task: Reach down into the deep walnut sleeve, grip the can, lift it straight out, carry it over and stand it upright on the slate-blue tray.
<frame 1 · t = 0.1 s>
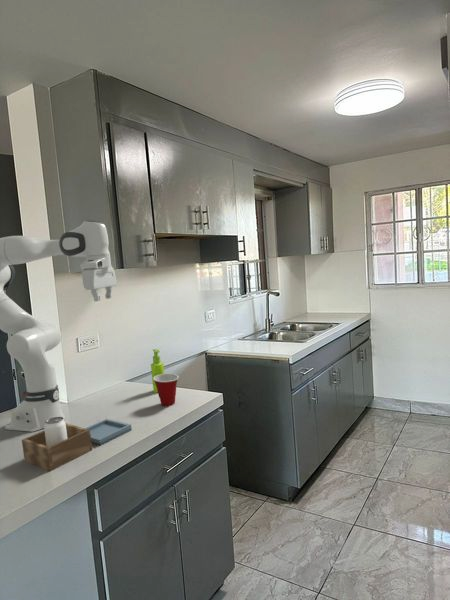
hand: (103, 299, 155), 48 cm above the countertop, tool pointing down, fingers open, 8 cm apart
soap dispenser: (160, 391, 194), on the countertop
plastic cup: (168, 404, 175), on the countertop
can: (58, 455, 134), resting in walnut sleeve
walnut sleeve: (58, 455, 134), on the countertop
tray: (103, 434, 148), on the countertop
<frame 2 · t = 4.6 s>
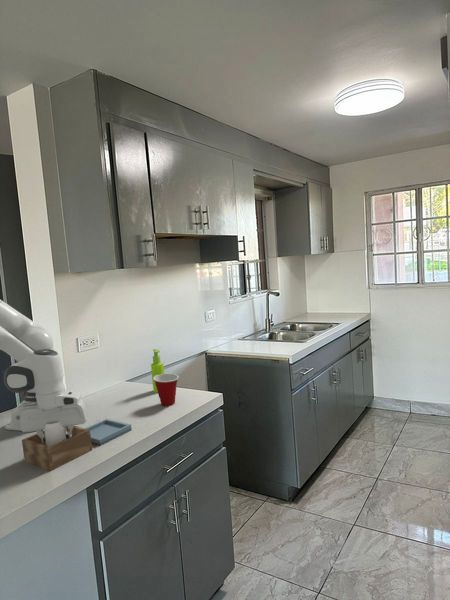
hand: (57, 440, 133), 5 cm above the countertop, tool pointing down, fingers closed on can, 6 cm apart
can: (58, 455, 134), resting in walnut sleeve, touching gripper
everything else where it was.
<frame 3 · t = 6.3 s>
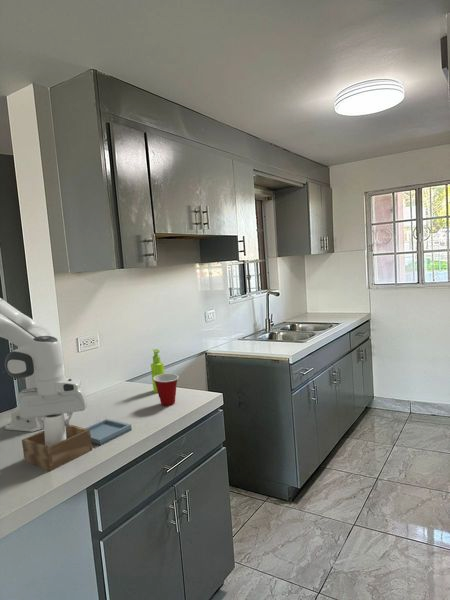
hand: (56, 427, 133), 9 cm above the countertop, tool pointing down, fingers closed on can, 6 cm apart
can: (56, 450, 134), point 2 cm above the countertop, touching gripper
everything else where it was.
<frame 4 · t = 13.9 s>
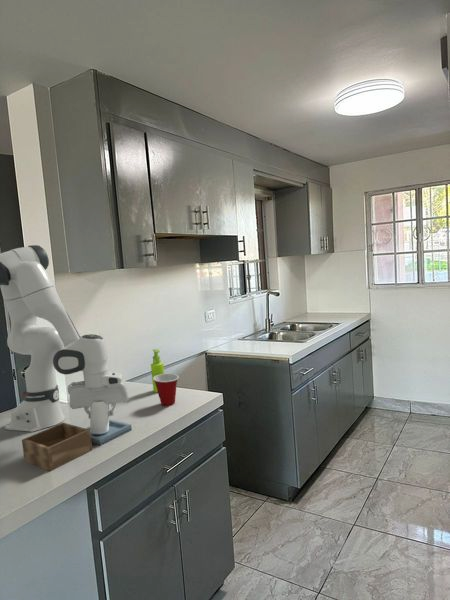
hand: (101, 416, 147), 7 cm above the countertop, tool pointing down, fingers closed on can, 6 cm apart
can: (99, 432, 147), point 1 cm above the countertop, touching gripper, tray
everything else where it was.
when the fingers open (7 cm above the countertop, at t = 15.0 s): can stays where it is, resting on tray.
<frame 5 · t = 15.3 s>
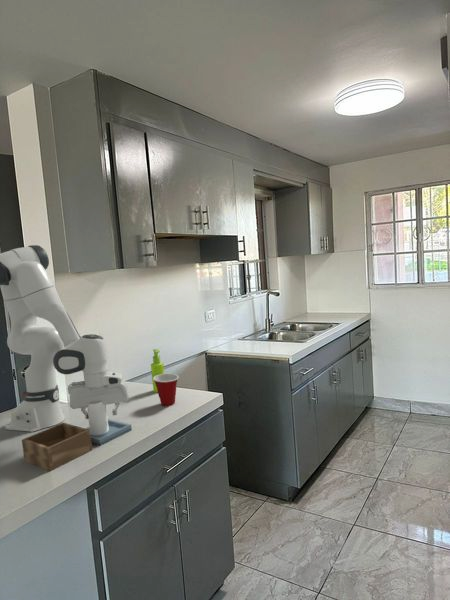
hand: (101, 416, 147), 7 cm above the countertop, tool pointing down, fingers open, 8 cm apart
can: (99, 433, 147), point 1 cm above the countertop, touching gripper, tray
everything else where it was.
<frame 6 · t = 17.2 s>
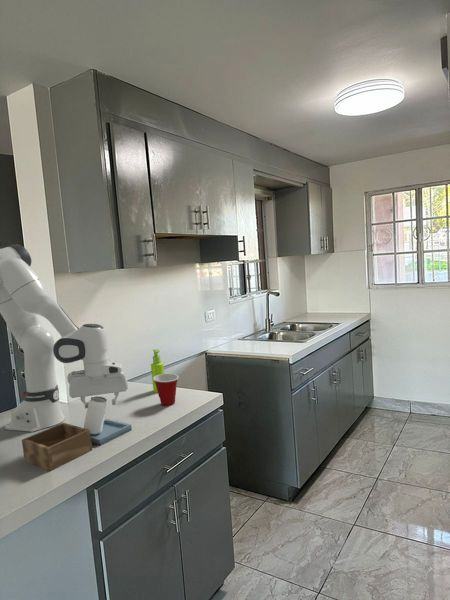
hand: (100, 406, 147), 10 cm above the countertop, tool pointing down, fingers open, 8 cm apart
can: (92, 431, 147), point 2 cm above the countertop, touching gripper, tray
everything else where it was.
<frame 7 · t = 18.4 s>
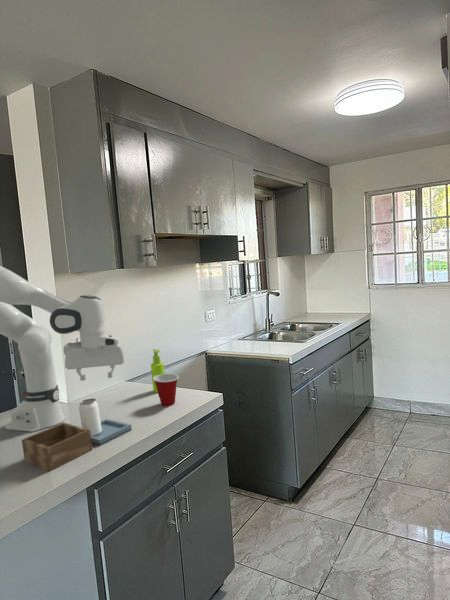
hand: (96, 378, 146), 21 cm above the countertop, tool pointing down, fingers open, 8 cm apart
can: (92, 433, 147), point 1 cm above the countertop, touching tray
everything else where it was.
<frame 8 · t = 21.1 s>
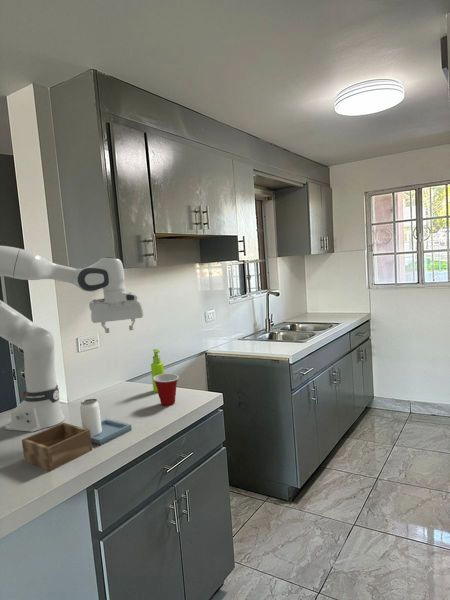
hand: (119, 331, 164), 34 cm above the countertop, tool pointing down, fingers open, 8 cm apart
nothing on the countertop moved.
at the end: can inside the target area on the tray (3.7 cm from its centre), point 0.6 cm above the tray's base; can tilted 0°; the gripper is holding nothing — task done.
